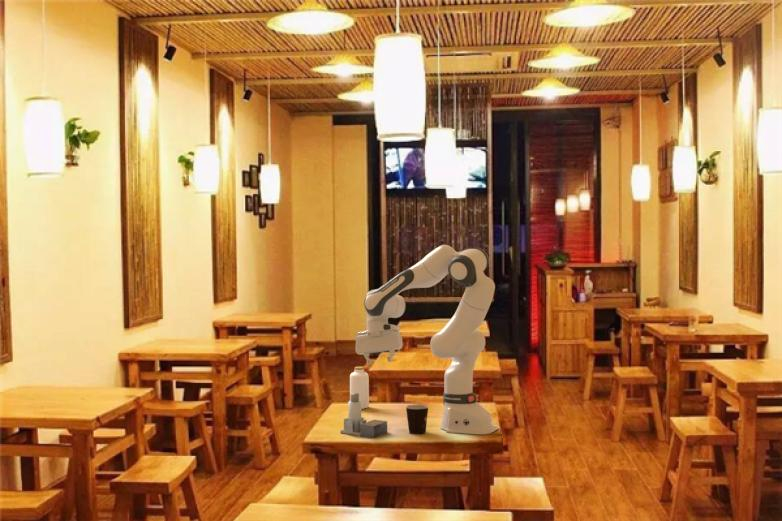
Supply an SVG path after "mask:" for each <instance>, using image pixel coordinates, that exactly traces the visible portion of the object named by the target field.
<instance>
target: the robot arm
mask: <svg viewBox="0 0 782 521" xmlns="http://www.w3.org/2000/svg"><path fill="white" fill-rule="evenodd" d="M489 262H490V259H489V254H488V253H487V252H486V251H485V249H482V248H481V247H467V248H461V249H460V250H459V251H456V250H455V248H453V247H452V246H450V245H449V244H441V245H438V247H436V248H434V249H433V250H431V251H430V252H429V253H428V254H426V255H425V256H424V257H422V259H420V260H419V261H418V262H416V263H415V264H414V265H412V266H410V267H409V268H407V269H405V270H403V271H401V272H399V273H398V274H397V275H396V276H394V277H393V278H391V279H390V280H389V281H387V282H386V283H384V284H383V285H382V286H380V287H379V288H376V289H371V290H369V291H368V292H367V294H366V295H365V296H366V297H365V298H364V302H363V304H364V309H365V314H366V330H363V331H359V332H358V333H357V334H356V335H355V353H356V354H357V355H363V357H364V358H365V361H366V364H367V365H372V364H373V360H372V359H370V358H369V357H370V354H375V353H382V352H389V356H387V362H388V363H389V362H390V363H391V362H393V357H394V355H395V353H396V351H397V350H401V349H402V348H403V345H404V344H403V336H402V334H401V332H400V330H401V328H400V326H398V325H395V324H392V323H389V321H388V320H389V319H390V318H393V319H397V318H400V317H402V316H403V315H404V313H405V312H406V308H407V307H406V306H407V305H406V300H405V299H404V296H402V295H399V294H400V293H401V292H403V291H406V290H411V289H420V288H421V289H423V288H425V289H426V288H432V287H434V286H436V285H437V284H438V283H440V282H441V281H442V280H443V279H444V278H445V277H446V276H447V275H449V277H450V278H451V280H453V281H454V282H456V283H457V284H458V285H460V286H461V287H462V288H465V289H464V293H463V295H462V298H461V299H460V301H459V304H458V306H457V308H456V310H455V313H454V314H453V315H452V317H451V318H450V319H449V321H448V322H447V323H446V324H445V325H444V327H443V328H441V330H439V331H437V332H436V333H435V334H433V335H432V336H431V339H430V343H429V347H430V350H431V353H432V355H433V356H434V357H436V358H439V359H445V360H450V359H452V360H451V363H450V365H449V366H448V367H447V368H446V369H445V371H444V376H443V377H444V384H443V385H444V387H443V388H444V391H443V395H442V396H443V399H442V400H443V401H442V402H443V413H442V414H443V416H442V419H441V424H440V429H442V430H444V431H445V432H446V433H450V434H451V433H454V434H467V435H468V434H469V435H489V434H492V432H493V433H494V431H495V430H497V429H499V427H498V425H497V424H493V419H492V418H493V417H492V415H491V413H490V411H488V410H487V409H486V408H485V407H484V406H482V405H481V404H480V403H479V402H478V401H477V400H478V397H479V393H478V394H475V392H473V382H474V381H473V379H474V378H473V377H474V376H473V375H474V371H475V370H474V369H475V365H476V362H477V359H478V358H479V356H480V354H481V352H483V351H484V348H485V347H486V337H485V334H484V333H483V332H482V331H481V330H480V329H479V328H480V327H481V326H482V325H483V323H484V320H485V318H486V315H487V313H488V312H489V309H490V306H491V304H492V301H493V297H494V294H495V289H496V284H495V282H494V280H493V279H491V277H488V276H487V275H486V274H485V271H486V270H487V268H488V266H489ZM497 431H498V430H497ZM495 432H496V431H495Z"/></svg>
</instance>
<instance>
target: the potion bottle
mask: <svg viewBox="0 0 782 521" xmlns="http://www.w3.org/2000/svg"><path fill="white" fill-rule="evenodd" d="M369 377H370V376H369V374H368V373H367V372H366V371H365V367H364V366H354V371H353V372H351V373H350V375H349V401H351V393H359V401H361V410H366V409H367V408H369V406H370V382H369V381H370V380H369ZM365 408H366V409H365Z"/></svg>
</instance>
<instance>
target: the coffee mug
mask: <svg viewBox="0 0 782 521" xmlns="http://www.w3.org/2000/svg"><path fill="white" fill-rule="evenodd" d="M405 408H406V410H405V411H406V417H407V418H406V419H407V425H408V433H409V434H410V435H425V434H426V433H427V425H428V412H429V406H428V405H425V404H410V405H406V406H405Z"/></svg>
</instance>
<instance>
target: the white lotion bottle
mask: <svg viewBox="0 0 782 521" xmlns="http://www.w3.org/2000/svg"><path fill="white" fill-rule="evenodd" d="M347 404H348V408H347V409H348V418H349V421H354V431H360V421H361V417H362V409H361V401H359V393H351V401H350V400H348V402H347Z"/></svg>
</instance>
